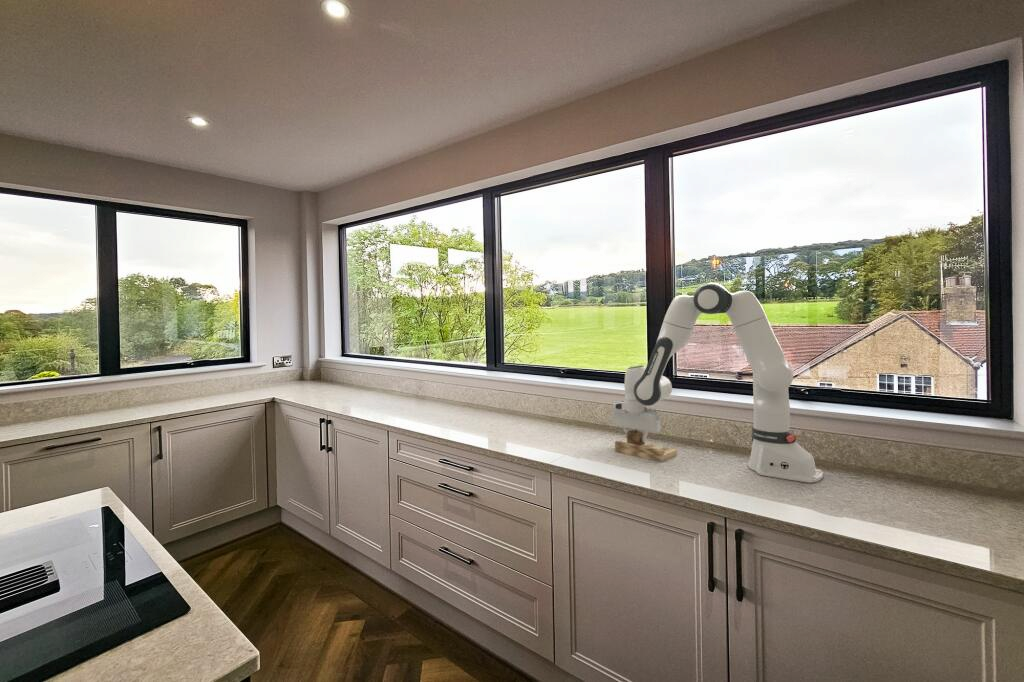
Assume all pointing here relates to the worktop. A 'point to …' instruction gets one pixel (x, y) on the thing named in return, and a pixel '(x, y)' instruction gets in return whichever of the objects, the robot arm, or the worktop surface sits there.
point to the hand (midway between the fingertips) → (635, 440)
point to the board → (645, 451)
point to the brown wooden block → (635, 437)
